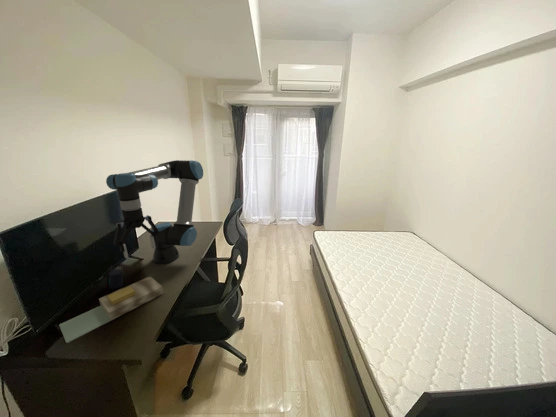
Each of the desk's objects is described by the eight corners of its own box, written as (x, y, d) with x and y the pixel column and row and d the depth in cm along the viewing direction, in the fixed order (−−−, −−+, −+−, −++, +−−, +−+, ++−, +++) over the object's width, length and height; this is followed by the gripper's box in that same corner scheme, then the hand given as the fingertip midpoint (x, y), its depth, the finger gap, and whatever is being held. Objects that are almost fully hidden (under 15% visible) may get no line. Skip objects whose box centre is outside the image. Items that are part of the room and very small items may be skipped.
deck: (151, 282, 117) (149, 276, 116) (163, 293, 109) (162, 286, 108) (100, 305, 100) (98, 298, 99) (111, 320, 92) (109, 312, 91)
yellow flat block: (130, 289, 106) (129, 285, 105) (135, 294, 102) (134, 290, 102) (108, 299, 99) (107, 295, 98) (112, 305, 95) (111, 301, 95)
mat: (100, 305, 100) (100, 305, 100) (111, 320, 92) (111, 319, 92) (59, 325, 90) (59, 324, 90) (66, 343, 82) (66, 342, 82)
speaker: (103, 288, 112) (101, 270, 109) (112, 282, 118) (111, 265, 115) (116, 291, 111) (115, 273, 109) (125, 284, 117) (124, 267, 114)
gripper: (155, 201, 108) (162, 241, 115) (96, 213, 91) (108, 260, 97) (162, 204, 104) (169, 245, 110) (102, 216, 86) (114, 265, 93)
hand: (140, 252), depth 104 cm, fingers open, 11 cm apart
